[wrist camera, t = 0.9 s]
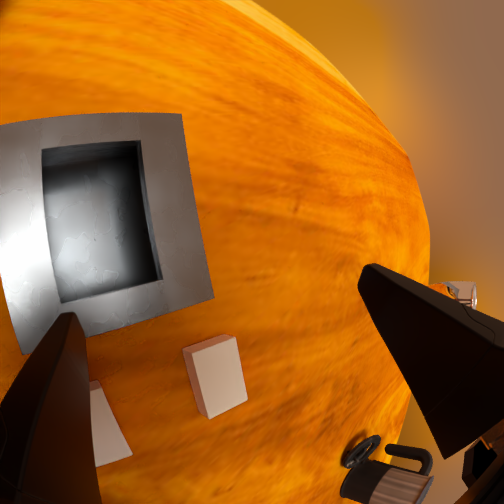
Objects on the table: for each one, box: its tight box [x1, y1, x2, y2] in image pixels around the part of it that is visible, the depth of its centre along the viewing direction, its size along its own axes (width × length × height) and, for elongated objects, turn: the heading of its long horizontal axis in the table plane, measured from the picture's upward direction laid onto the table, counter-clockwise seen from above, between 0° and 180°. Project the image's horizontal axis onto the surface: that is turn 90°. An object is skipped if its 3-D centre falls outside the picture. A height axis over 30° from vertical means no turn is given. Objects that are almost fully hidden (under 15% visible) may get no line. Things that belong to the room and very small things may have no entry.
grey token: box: [89, 380, 133, 467], centre depth 15 cm, size 6×4×2 cm, turn 13°
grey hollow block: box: [0, 113, 214, 355], centre depth 15 cm, size 11×11×6 cm
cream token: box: [182, 334, 248, 419], centre depth 22 cm, size 6×4×2 cm, turn 11°
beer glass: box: [427, 281, 477, 310], centre depth 40 cm, size 7×7×15 cm
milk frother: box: [340, 435, 434, 504], centre depth 31 cm, size 14×16×15 cm
